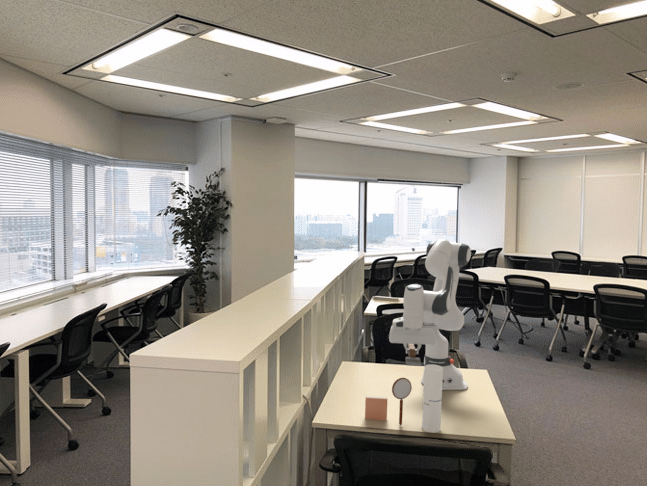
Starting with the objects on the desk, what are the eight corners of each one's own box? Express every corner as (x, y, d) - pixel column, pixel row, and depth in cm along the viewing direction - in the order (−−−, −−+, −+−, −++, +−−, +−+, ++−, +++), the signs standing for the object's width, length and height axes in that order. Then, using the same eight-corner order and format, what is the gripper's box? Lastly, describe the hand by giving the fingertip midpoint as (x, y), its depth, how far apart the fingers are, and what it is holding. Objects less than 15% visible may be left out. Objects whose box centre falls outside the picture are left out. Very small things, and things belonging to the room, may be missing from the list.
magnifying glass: (391, 428, 198) (393, 379, 197) (389, 426, 200) (391, 378, 198) (411, 425, 201) (412, 377, 200) (408, 424, 203) (410, 376, 201)
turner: (403, 349, 228) (403, 341, 228) (416, 350, 228) (417, 341, 227) (406, 365, 207) (406, 355, 206) (421, 366, 206) (421, 356, 206)
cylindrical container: (439, 433, 195) (441, 371, 193) (420, 430, 197) (423, 368, 195) (441, 426, 201) (444, 365, 200) (423, 423, 204) (426, 363, 202)
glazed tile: (386, 418, 208) (387, 397, 207) (386, 420, 206) (387, 399, 206) (365, 417, 209) (365, 396, 208) (364, 418, 207) (365, 397, 206)
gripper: (436, 321, 218) (435, 352, 220) (389, 319, 220) (388, 350, 222) (438, 325, 212) (437, 356, 213) (389, 322, 214) (388, 354, 215)
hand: (412, 353), depth 218 cm, fingers closed on turner, 2 cm apart
